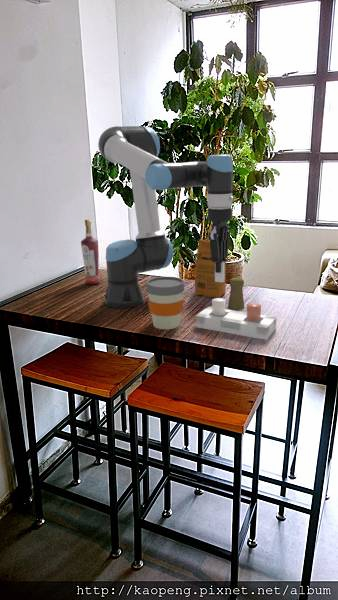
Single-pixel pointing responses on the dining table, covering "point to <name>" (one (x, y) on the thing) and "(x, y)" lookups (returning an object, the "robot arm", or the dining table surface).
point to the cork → (236, 294)
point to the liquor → (90, 256)
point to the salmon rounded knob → (253, 312)
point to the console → (236, 323)
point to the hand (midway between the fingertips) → (219, 281)
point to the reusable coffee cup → (165, 301)
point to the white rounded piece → (218, 306)
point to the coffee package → (207, 273)
